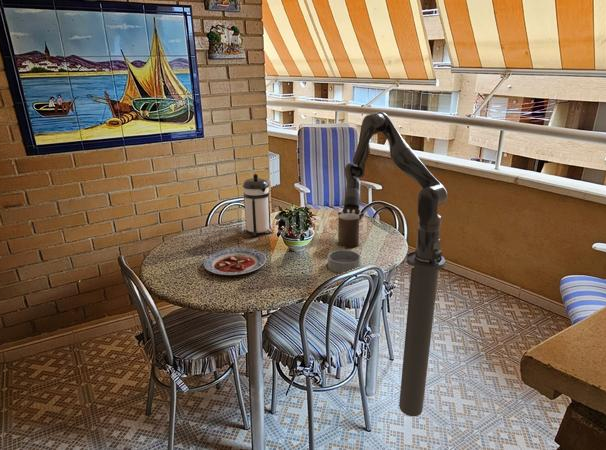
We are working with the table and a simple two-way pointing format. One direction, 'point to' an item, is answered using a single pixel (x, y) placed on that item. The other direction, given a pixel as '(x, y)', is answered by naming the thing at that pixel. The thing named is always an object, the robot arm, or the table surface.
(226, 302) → the table surface
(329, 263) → the pan
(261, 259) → the ceramic plate
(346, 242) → the pillar candle
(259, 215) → the coffee press
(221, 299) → the table surface
